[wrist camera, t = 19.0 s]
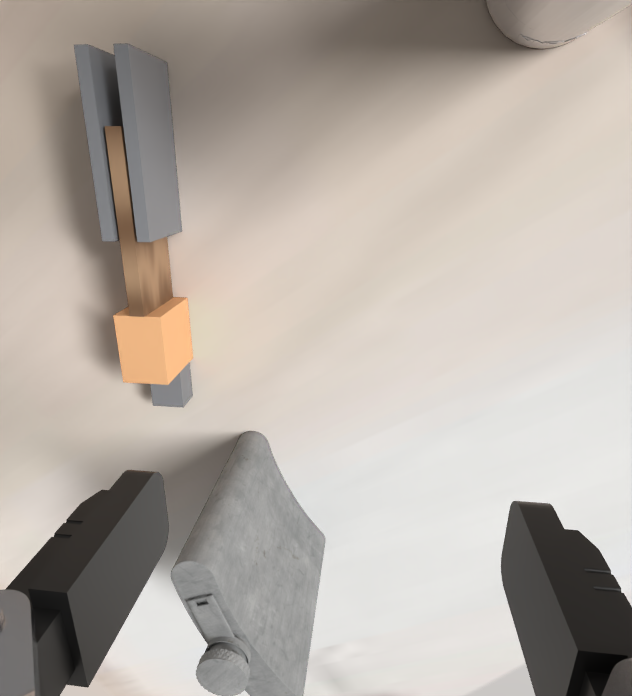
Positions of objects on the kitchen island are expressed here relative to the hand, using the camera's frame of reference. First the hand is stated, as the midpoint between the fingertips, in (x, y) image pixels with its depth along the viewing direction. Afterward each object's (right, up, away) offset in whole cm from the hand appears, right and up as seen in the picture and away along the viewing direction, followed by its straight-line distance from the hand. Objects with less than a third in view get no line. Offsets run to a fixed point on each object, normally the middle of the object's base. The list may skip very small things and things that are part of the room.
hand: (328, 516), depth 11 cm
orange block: (-14, +6, +35) cm, 38 cm away
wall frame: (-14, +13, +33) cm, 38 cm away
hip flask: (-4, -11, +41) cm, 42 cm away
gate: (-14, +15, +32) cm, 38 cm away
